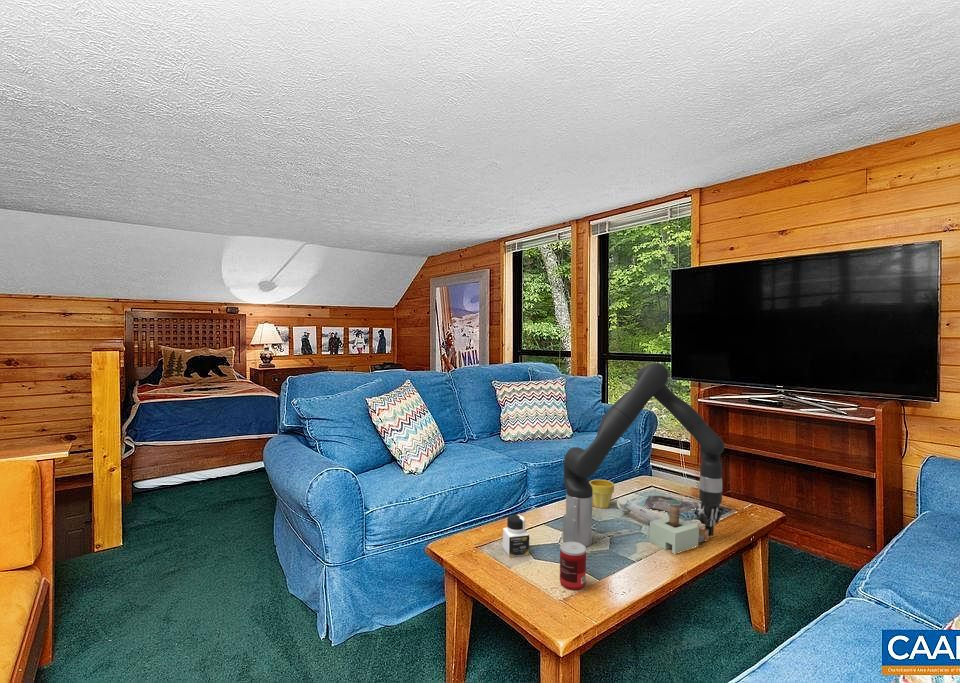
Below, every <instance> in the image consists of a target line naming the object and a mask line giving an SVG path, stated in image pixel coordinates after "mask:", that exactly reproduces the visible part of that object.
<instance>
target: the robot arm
mask: <svg viewBox="0 0 960 683" xmlns="http://www.w3.org/2000/svg"><path fill="white" fill-rule="evenodd" d="M668 379H669V372H668V369H667V367H666V366H665V365H663V364H661V363H656V362H655V363H651V364H648V365H645V366H644V367H642V368H641V369H640V370H638V371H637V374H636V383H635V384H634V385H633V386H632V387H631V388H630V389H629V390H628V391H627V392H626V393H624V394H623V395H622V396H621V397H619V399H618V400H617V401H615V402H614V404H612V405H611V406H610V408H609V409H608V410H607V411H606V412H605V414H604V415H603V416H602V418H601V420H600V424H599V427H598V430H597V433H596V436H595V438H594V440H593V441H592V442H591V443H590V444H589V446H588V447H587V448H586V449H583V448H580V447H577V446H574V447H572V448H570V449H568V450H567V451H566V453H565V455H564V459H563V482H564V487H565V490H566V491H565V514H563V516H562V517H563V524H562V527H563V528H562V529H563V530H562V541H563V543H565V542H577V543H580V544H582V545H584V546H585V547H590V546H591V545H592V538H593V532H592V531H593V501H592V500H593V489H592V486H591V485H590V483H589V482H590V481H589V479H588V478H591V477H592V476H593V475H594V474H595V473H596V472H597V471H598V470H599V468H600V466H601V464H603V462H604V460H605V459H606V457H607V456H608V454H609V452H610V451H611V449H613V448H614V446H615V445H616V444H617V442H618V441H619V439H621V437H622V436H623V435H624V434H625V432H627V430H628V429H629V428H630V427H631V425H632V424H633V422H634V421H636V419H637V418H638V416H639V415H640V413H641V412H642V410H644V408H645V406H647V404H648V402H649V401H650V400H651V399H652V398H654V399H655V400H657V401H658V403H660V404H661V405H662V406H663V407H664V408H665V409H666V410H667V411H668V412H669V413H670V414H671V415H672V416H673V417H674V418H675V419H676V420H677V421H678V423H679V424H681V425H682V426H683V428H685V430H686V432H688V433H689V434H690V435H691V436H692V437H693V438H694V439H695V441H696V442H697V443H698V444H699V447H700V458H701V460H700V461H701V462H700V478H699V486H698V487H699V488H698V489H699V490H698V493H699V494H698V499H699V501H700V502H701V505H700V510H699V511H697V510H696V514H695V516H697V518H698V520H699V521H700V522H699V523H701V524H703V525H704V526H705V527H704V528H706V529H708V530H709V534H708V537H713V536H714V532H715V530H714V529H715V526H716V524H718V523H719V521H720V519H721V518H722V514H723V513H724V511H725V510H724V508H723V507H721V506H720V504H722V503H723V463H722V461H721V454H722V453H723V452H724V451H725V442H724V441H723V439H722V438H721V437H720V436H719V435H718V434H717V432H715V431H714V430H713V429H712V428H711V427H710V426H709V425H708V424H707V422H706V421H705V419H704V418H703V417H702V416H701V415H700V414H699V413H698V412H697V411H696V410H695V408H693V407H692V406H691V405H690V404H689V403H688V402H686V401H684V400H683V399H681V397H678V396H677V395H676V394H675V393H674V392H672V391H671V390H670V388H668V386H667V385H666V384H667V383H668Z"/></svg>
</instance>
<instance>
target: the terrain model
mask: <svg viewBox="0 0 960 683" xmlns="http://www.w3.org/2000/svg"><path fill="white" fill-rule="evenodd" d="M697 505H699V504H698V502H696V501H688V500H682V499H676V498H673V497H672V496H670V497H669V496H664V495H648V497H647V498H646V500H645V502H644V504H643V507H644V506H645V507H646V508H647V509H646V508H645V507H644V508H645V509H646V510H650V509H652V510H651V511H655V510H658V511H657V512H660V511H665V512H664V513H666V512H670V506H677V507H679V513H682V512H686V511H689V510H691V509H695V508H697V509H698V506H697Z"/></svg>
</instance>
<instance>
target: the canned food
mask: <svg viewBox="0 0 960 683" xmlns="http://www.w3.org/2000/svg"><path fill="white" fill-rule="evenodd" d="M586 572H587V548H586V547H585V546H584V545H582V544H580V543H577V542H563V543H561V544H560V547H559V583H560V585H561V586H562V587H564V588H565V589H567V590H572V591H578V590H581V589H583V588H584V587H585V585H586Z"/></svg>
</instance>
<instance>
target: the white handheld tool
mask: <svg viewBox="0 0 960 683" xmlns="http://www.w3.org/2000/svg"><path fill="white" fill-rule="evenodd" d="M616 506H617V507H618V509H619V510H621V512H623V513H627V514H629V513H631V512H632V513H634V514H636V515H637V516H639V517H641V518H643V519H644V520H646V521H648V522H649V523H650V522H651V521H654V520H658V519H662V518H664V517H663V516H661V515H659V514H657V513H654V512H653V511H652V510H650V509H646V508H645V507H643V506H641V505H638V504H636V503H633V501H631V499H629V498H627V497H624V496H621V497H619V498H618V499H617V501H616Z"/></svg>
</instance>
